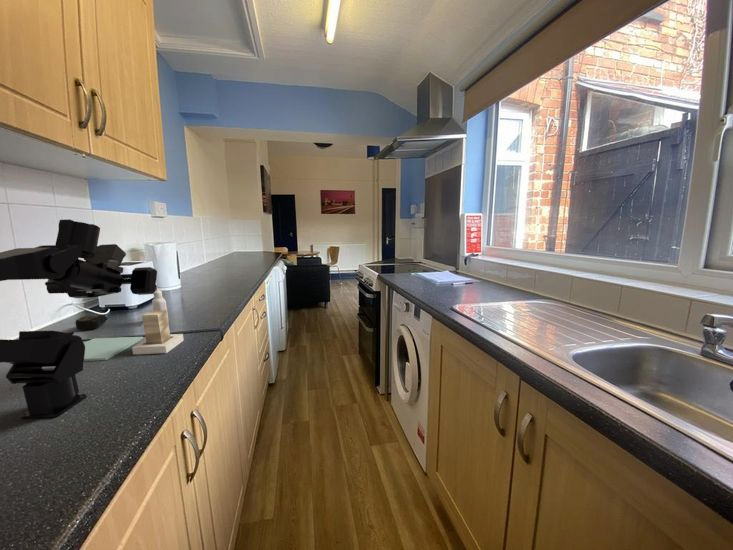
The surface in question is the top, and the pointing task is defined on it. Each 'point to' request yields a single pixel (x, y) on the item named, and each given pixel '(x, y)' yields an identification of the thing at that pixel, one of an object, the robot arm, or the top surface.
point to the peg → (156, 327)
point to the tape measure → (90, 322)
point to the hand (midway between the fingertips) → (138, 289)
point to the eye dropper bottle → (159, 301)
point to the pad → (107, 347)
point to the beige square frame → (158, 345)
